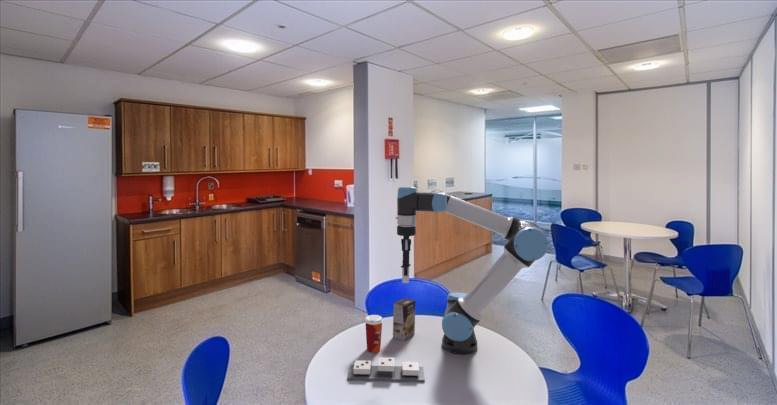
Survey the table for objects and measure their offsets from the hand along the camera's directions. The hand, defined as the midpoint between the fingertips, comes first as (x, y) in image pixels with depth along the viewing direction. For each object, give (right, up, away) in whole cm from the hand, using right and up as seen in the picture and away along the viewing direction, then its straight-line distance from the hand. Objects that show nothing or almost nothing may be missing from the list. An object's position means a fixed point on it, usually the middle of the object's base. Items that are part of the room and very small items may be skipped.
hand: (405, 282), depth 157 cm
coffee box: (0, -29, +20) cm, 35 cm away
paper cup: (-13, -30, +6) cm, 33 cm away
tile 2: (-8, -29, -13) cm, 32 cm away
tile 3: (-17, -30, -13) cm, 37 cm away
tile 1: (+1, -30, -13) cm, 33 cm away
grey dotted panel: (-8, -32, -13) cm, 35 cm away
